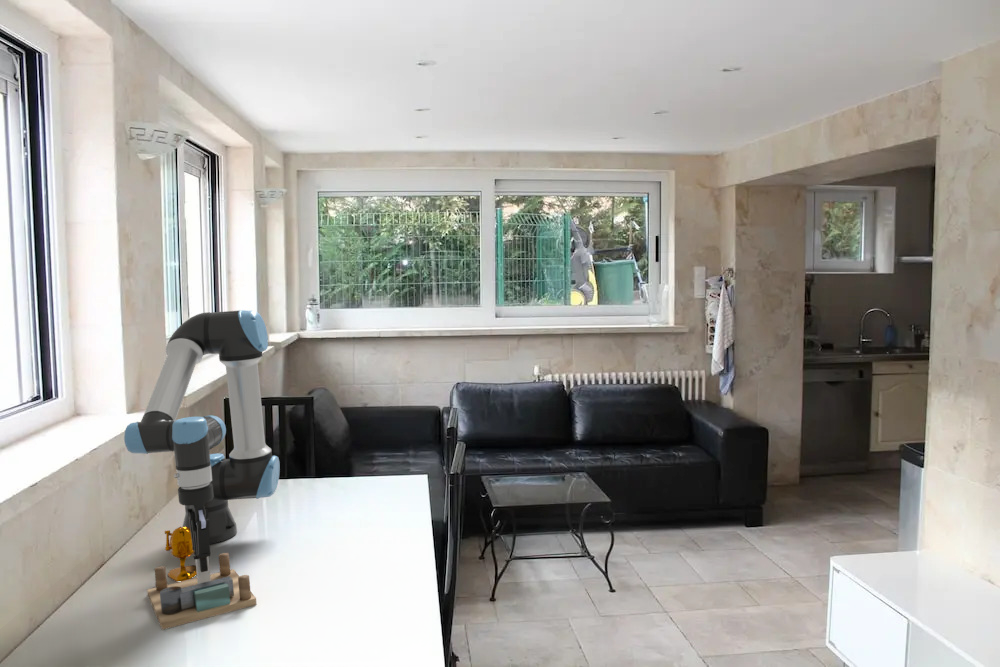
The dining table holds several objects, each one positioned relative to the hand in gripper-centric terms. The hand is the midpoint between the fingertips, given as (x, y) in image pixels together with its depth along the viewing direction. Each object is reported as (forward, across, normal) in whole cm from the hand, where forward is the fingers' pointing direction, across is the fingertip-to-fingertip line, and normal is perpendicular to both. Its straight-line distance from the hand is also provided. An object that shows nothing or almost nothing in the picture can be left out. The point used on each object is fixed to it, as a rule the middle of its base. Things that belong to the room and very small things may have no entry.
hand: (204, 583), depth 185 cm
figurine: (+4, -19, -1) cm, 19 cm away
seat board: (+3, +1, -1) cm, 4 cm away
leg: (+2, +7, -3) cm, 8 cm away
